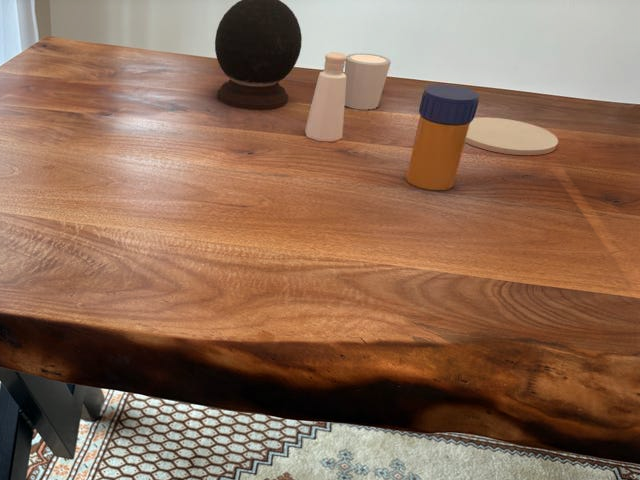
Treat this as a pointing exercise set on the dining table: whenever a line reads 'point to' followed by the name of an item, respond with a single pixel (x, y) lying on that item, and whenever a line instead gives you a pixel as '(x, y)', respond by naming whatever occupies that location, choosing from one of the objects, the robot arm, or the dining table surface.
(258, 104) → the ball on pedestal
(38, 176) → the dining table surface
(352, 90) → the white tapered cup
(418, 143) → the jar
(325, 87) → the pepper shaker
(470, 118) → the lid
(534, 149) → the disc
